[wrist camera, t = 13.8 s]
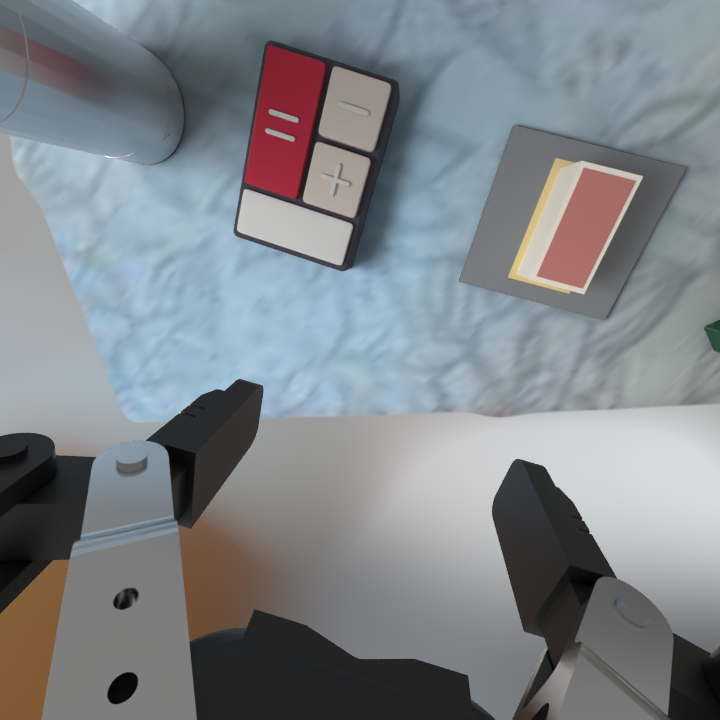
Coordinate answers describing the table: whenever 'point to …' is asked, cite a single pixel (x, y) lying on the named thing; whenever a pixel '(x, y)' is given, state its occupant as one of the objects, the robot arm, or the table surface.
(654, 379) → the table surface
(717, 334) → the crayon box
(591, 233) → the card deck
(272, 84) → the calculator
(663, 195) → the rubber mat
